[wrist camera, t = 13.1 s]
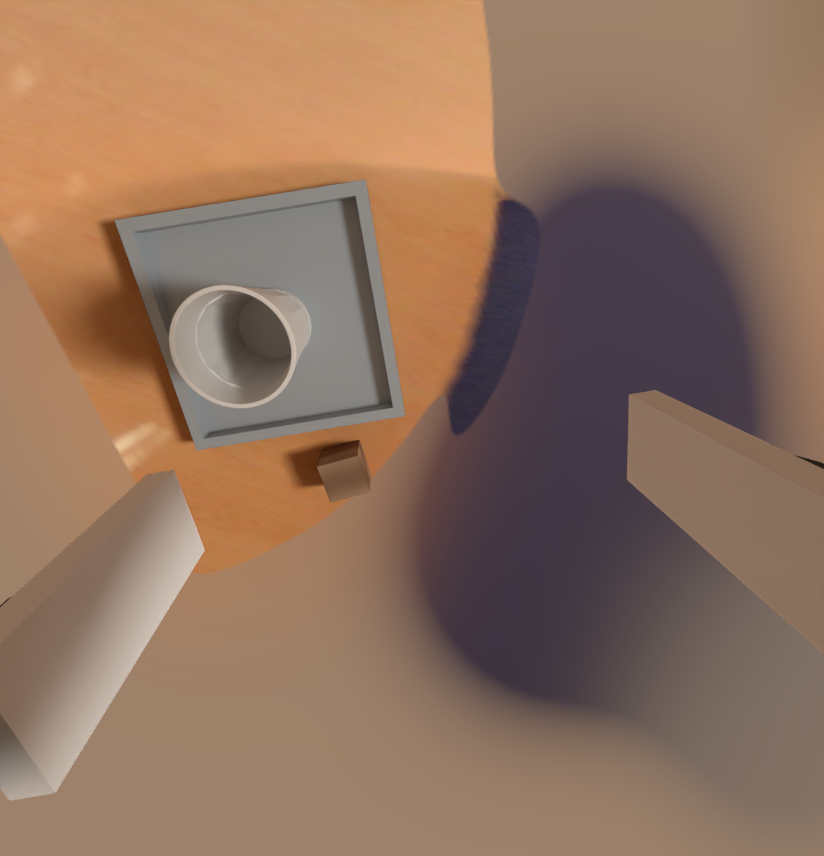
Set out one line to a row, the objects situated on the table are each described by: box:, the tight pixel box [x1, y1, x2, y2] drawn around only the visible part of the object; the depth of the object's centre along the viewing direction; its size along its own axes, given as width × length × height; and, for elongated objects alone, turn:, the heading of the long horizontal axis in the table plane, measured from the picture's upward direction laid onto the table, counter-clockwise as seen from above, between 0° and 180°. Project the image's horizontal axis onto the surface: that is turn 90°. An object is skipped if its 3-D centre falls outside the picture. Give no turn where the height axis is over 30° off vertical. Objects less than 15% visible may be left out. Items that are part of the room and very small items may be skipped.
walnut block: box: [317, 440, 371, 502], centre depth 44 cm, size 4×4×4 cm
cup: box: [169, 285, 312, 408], centre depth 34 cm, size 8×8×12 cm
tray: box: [115, 180, 405, 450], centre depth 40 cm, size 20×20×2 cm
